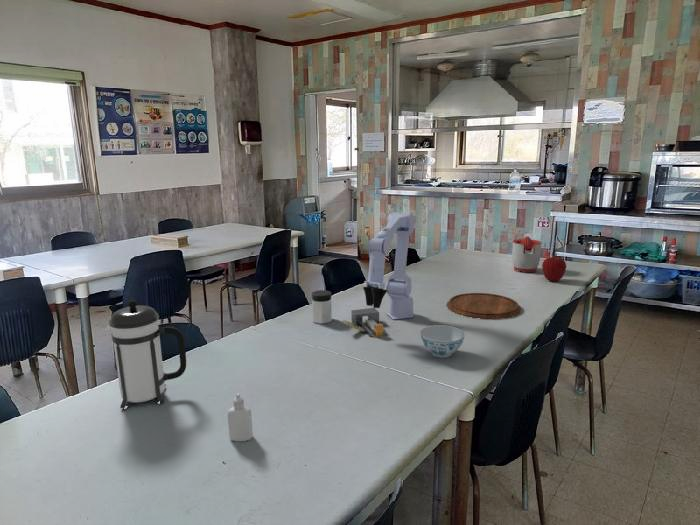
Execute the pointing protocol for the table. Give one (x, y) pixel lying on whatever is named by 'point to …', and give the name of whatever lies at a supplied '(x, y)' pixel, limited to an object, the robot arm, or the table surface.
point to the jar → (321, 306)
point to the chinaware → (442, 339)
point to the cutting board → (483, 306)
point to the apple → (553, 268)
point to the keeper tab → (354, 326)
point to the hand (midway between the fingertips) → (372, 306)
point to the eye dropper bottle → (240, 421)
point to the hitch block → (372, 314)
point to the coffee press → (141, 353)
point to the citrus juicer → (526, 254)
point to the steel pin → (374, 328)
